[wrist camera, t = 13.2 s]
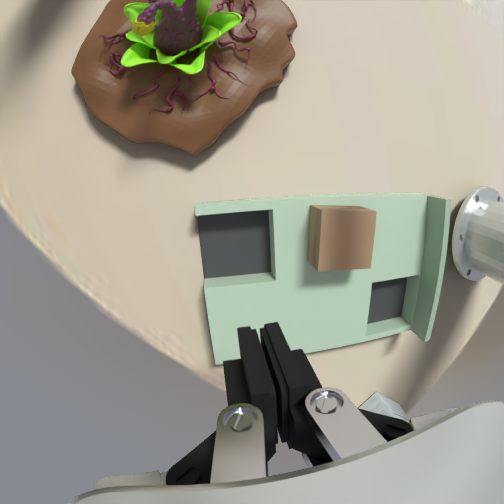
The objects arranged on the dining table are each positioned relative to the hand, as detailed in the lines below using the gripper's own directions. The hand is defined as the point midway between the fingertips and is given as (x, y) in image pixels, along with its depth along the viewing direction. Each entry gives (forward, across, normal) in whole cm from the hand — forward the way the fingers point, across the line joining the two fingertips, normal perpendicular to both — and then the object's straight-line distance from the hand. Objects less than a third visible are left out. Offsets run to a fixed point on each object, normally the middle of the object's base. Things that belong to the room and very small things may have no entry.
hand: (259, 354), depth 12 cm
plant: (+18, +3, -20) cm, 27 cm away
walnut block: (+14, -9, -1) cm, 17 cm away
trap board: (+17, -9, +4) cm, 19 cm away
